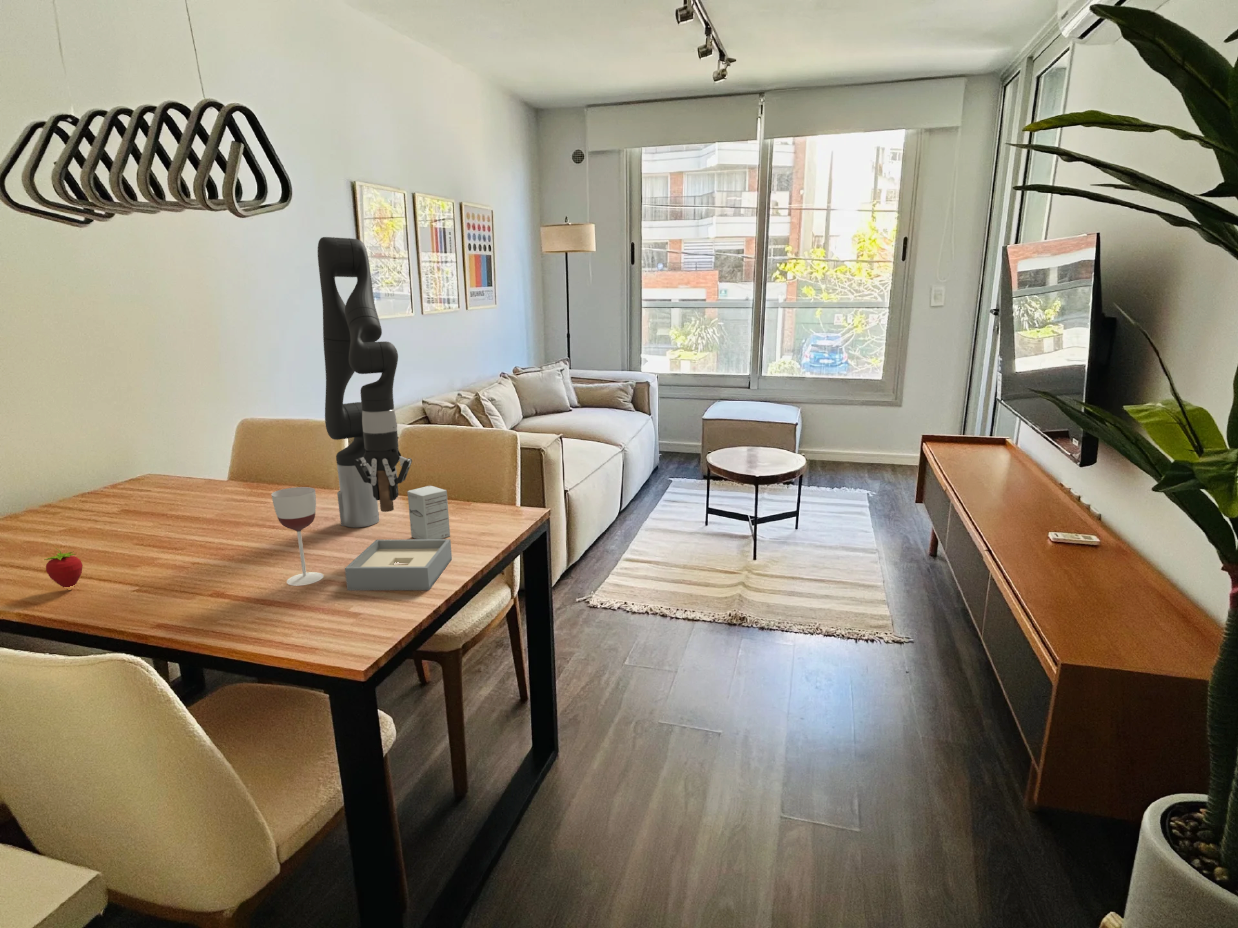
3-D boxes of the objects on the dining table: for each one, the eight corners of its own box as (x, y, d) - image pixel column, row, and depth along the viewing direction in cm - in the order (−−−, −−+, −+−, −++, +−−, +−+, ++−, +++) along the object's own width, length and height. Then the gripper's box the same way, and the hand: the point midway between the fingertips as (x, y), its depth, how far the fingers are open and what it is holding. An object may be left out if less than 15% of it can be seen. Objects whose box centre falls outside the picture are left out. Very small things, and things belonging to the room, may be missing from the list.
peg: (378, 511, 164) (374, 471, 162) (383, 507, 167) (379, 467, 164) (391, 511, 164) (387, 471, 161) (395, 507, 167) (392, 468, 164)
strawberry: (62, 598, 145) (52, 554, 142) (44, 592, 148) (34, 548, 146) (94, 588, 150) (84, 544, 147) (76, 582, 153) (66, 539, 151)
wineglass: (294, 571, 157) (282, 487, 152) (332, 571, 157) (321, 486, 152) (276, 586, 149) (263, 497, 144) (316, 585, 149) (304, 497, 144)
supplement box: (410, 537, 178) (406, 490, 175) (435, 530, 183) (431, 484, 180) (426, 544, 173) (421, 495, 170) (451, 536, 178) (447, 489, 176)
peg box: (347, 590, 146) (344, 568, 145) (378, 559, 163) (376, 539, 162) (429, 590, 146) (427, 567, 144) (451, 559, 163) (450, 539, 161)
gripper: (343, 431, 157) (350, 504, 161) (404, 432, 156) (410, 504, 161) (356, 425, 164) (363, 494, 169) (415, 425, 164) (420, 495, 168)
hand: (386, 499), depth 165 cm, fingers closed on peg, 3 cm apart
